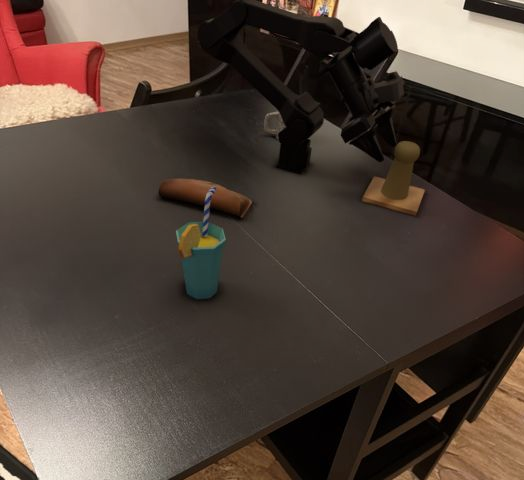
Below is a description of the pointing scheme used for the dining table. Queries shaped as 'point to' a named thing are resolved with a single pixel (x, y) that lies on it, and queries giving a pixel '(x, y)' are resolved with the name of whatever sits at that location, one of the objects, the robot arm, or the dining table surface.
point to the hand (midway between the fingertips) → (388, 153)
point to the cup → (201, 254)
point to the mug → (279, 123)
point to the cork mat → (405, 205)
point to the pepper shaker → (401, 171)
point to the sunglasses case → (197, 195)
